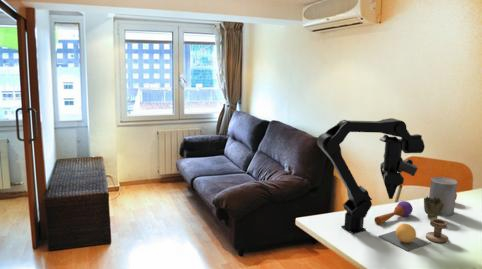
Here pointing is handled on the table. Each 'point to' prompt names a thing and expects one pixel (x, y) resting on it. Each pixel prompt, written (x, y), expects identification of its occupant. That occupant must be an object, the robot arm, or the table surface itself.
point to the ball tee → (437, 231)
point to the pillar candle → (444, 193)
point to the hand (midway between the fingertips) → (389, 194)
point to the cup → (433, 207)
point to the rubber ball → (405, 233)
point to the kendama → (396, 212)
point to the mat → (394, 240)
